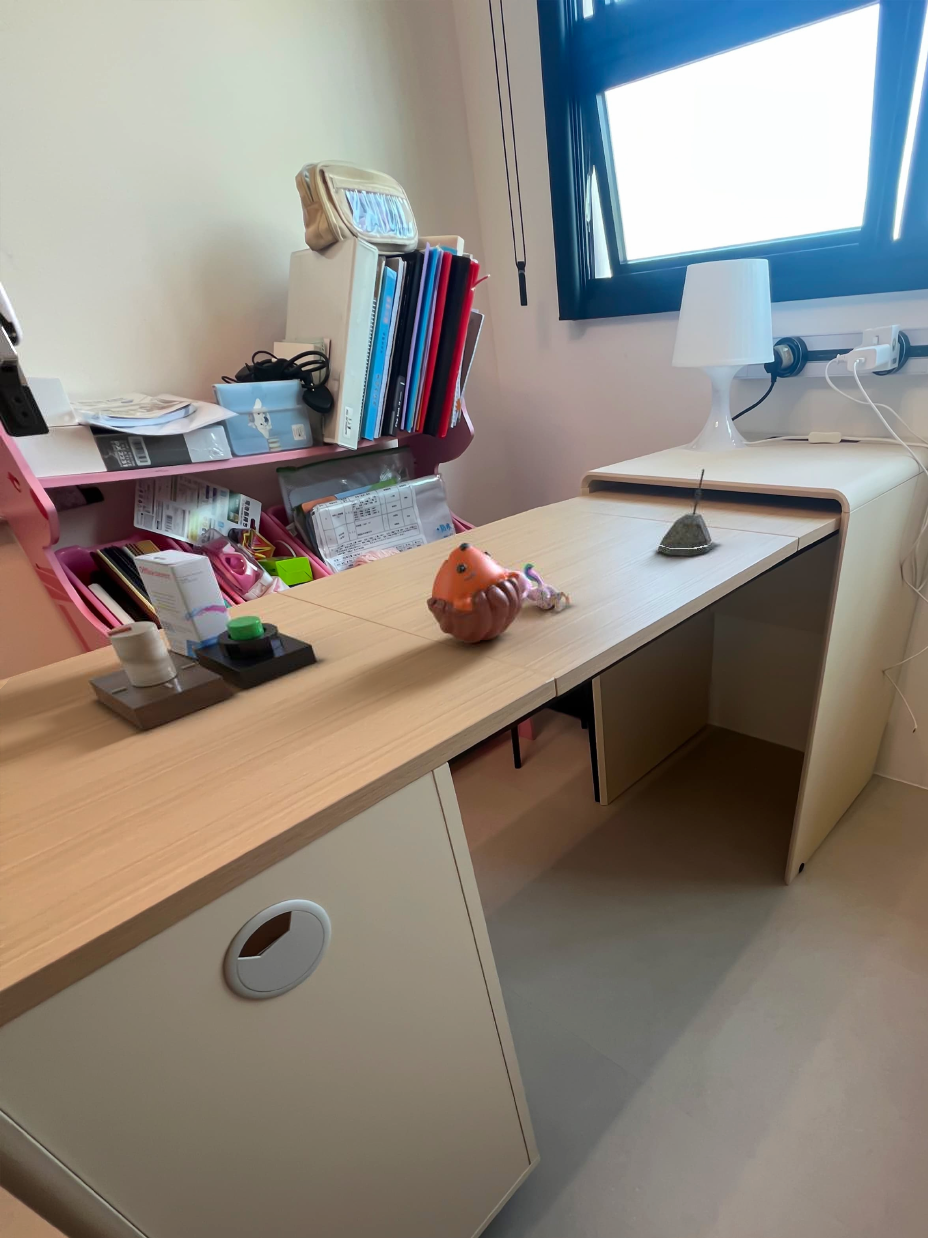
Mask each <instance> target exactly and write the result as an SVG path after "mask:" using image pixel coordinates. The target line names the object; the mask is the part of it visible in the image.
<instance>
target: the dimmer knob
mask: <svg viewBox="0 0 928 1238" xmlns="http://www.w3.org/2000/svg"><path fill="white" fill-rule="evenodd" d="M106 635H107V637H108V639H109V642H110V644H111V646H112V648H113V649H114V651H115V654H116V655H117V658H118V659H119V661H120V663H121V666H122V669H124V670H125V672H126V674H127V676H128V678H129V680H130V682H131V684H132V685H134V686H138V687H145V686H152V685H157V684H161V683H164V682H166V681H168V680H170V679H172V678H174V677H175V676H176V675H177V671H176V669H175V666H174V664H173V662H172V660H171V657H170V655H169V654H170V653H169V651H168V648H167V647H166V643H165V642H164V639H163V637H162V636H161V632H160V631H159V629H158V626H157V623H155V622H153V621H136V622H135V621H134V622H129V623H126V624H122V625H119V626H116V627H114V628H112V629H110V630H109V631H107V632H106Z"/></svg>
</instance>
